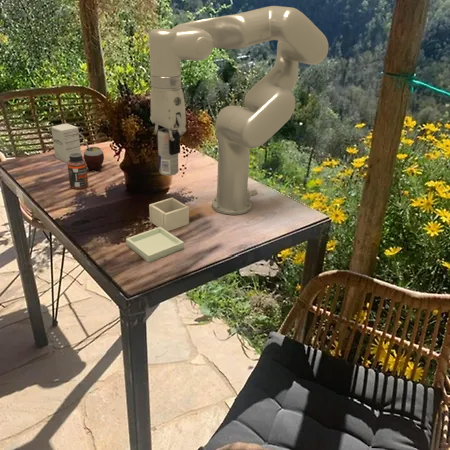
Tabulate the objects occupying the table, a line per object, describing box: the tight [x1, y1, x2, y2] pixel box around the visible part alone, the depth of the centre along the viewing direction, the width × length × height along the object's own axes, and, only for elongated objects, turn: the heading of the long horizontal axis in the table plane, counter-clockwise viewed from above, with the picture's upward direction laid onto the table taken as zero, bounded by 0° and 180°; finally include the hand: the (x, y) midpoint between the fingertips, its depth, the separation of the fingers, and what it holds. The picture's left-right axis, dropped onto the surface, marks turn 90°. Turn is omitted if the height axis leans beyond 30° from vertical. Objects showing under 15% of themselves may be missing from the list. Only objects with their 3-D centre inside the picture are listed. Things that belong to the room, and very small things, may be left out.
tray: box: [125, 227, 185, 264], centre depth 120 cm, size 11×11×2 cm
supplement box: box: [51, 123, 82, 163], centre depth 175 cm, size 7×7×13 cm
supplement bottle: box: [66, 153, 89, 190], centre depth 151 cm, size 6×6×11 cm
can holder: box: [148, 197, 190, 232], centre depth 132 cm, size 8×8×6 cm
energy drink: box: [157, 128, 179, 177], centre depth 123 cm, size 5×5×12 cm
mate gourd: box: [75, 131, 105, 173], centre depth 164 cm, size 8×8×15 cm
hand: (168, 150), depth 123 cm, fingers closed on energy drink, 5 cm apart
